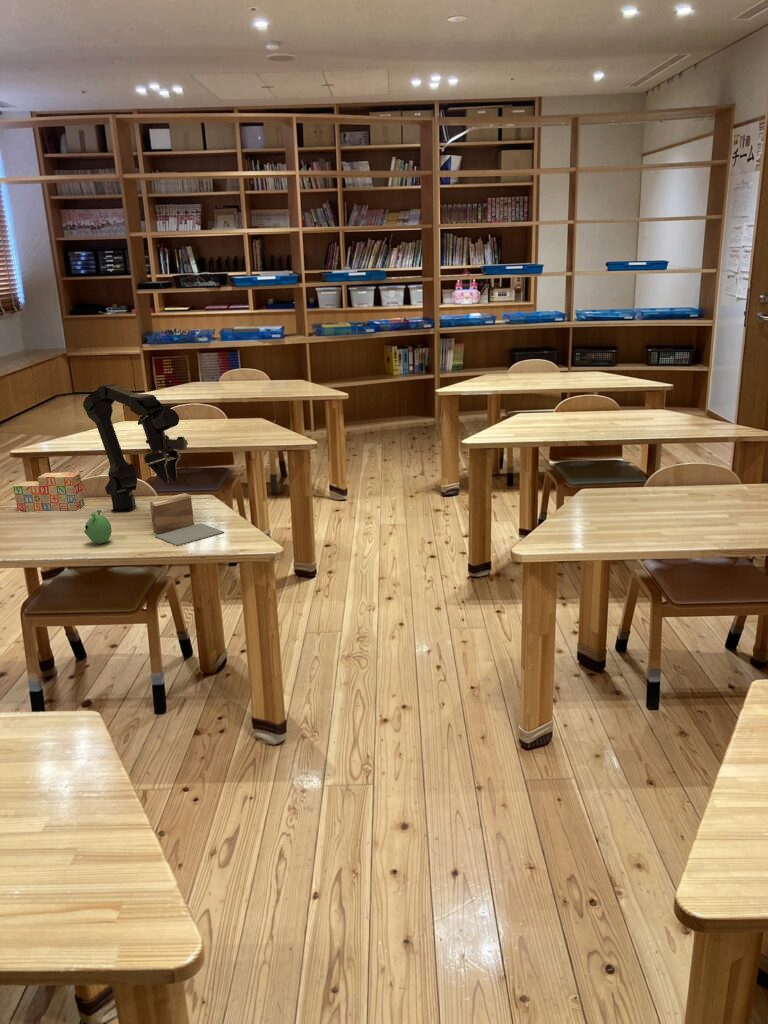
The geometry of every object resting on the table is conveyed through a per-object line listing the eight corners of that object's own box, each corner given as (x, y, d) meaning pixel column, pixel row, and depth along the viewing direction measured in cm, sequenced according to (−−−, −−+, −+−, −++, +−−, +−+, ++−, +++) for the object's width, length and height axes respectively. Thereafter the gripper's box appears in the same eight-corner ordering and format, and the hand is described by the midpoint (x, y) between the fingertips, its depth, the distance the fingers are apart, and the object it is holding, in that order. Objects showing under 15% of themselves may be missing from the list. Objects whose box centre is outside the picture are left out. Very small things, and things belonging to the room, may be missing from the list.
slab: (153, 533, 247) (149, 501, 244) (188, 523, 255) (184, 493, 252) (159, 535, 244) (155, 503, 241) (194, 526, 252) (190, 495, 249)
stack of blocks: (17, 512, 275) (11, 477, 271) (26, 507, 281) (20, 472, 277) (77, 511, 273) (72, 476, 269) (85, 506, 279) (80, 471, 275)
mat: (154, 537, 242) (154, 535, 242) (201, 524, 253) (201, 523, 253) (177, 546, 233) (176, 544, 233) (224, 533, 244) (224, 531, 244)
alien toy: (91, 539, 242) (86, 507, 240) (116, 539, 242) (112, 507, 239) (82, 547, 236) (77, 514, 233) (108, 546, 235) (103, 513, 232)
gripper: (170, 426, 243) (187, 476, 244) (187, 427, 261) (203, 473, 263) (136, 437, 243) (152, 487, 245) (155, 437, 262) (170, 483, 263)
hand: (171, 482), depth 254 cm, fingers open, 9 cm apart
